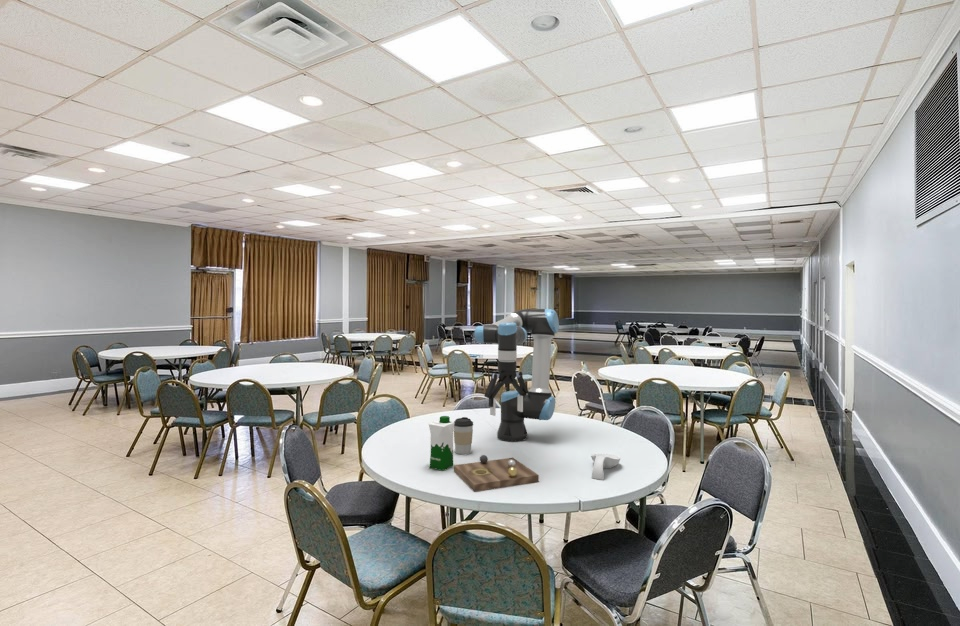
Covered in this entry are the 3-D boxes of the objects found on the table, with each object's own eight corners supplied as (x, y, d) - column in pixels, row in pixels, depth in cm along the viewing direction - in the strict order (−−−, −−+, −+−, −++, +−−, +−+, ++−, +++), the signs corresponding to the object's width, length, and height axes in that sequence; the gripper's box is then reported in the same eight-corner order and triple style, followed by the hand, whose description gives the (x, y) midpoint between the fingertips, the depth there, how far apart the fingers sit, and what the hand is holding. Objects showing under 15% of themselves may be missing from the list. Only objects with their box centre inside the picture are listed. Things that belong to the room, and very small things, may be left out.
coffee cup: (470, 455, 210) (470, 421, 209) (450, 454, 211) (450, 420, 211) (475, 449, 218) (475, 417, 218) (455, 448, 220) (456, 416, 220)
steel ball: (513, 465, 190) (513, 457, 189) (516, 468, 187) (517, 460, 186) (506, 466, 188) (506, 458, 188) (509, 469, 185) (509, 461, 185)
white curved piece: (593, 459, 206) (593, 443, 206) (621, 463, 201) (622, 446, 201) (582, 478, 184) (583, 459, 184) (614, 482, 180) (614, 463, 180)
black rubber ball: (485, 461, 195) (485, 453, 195) (488, 463, 192) (489, 455, 192) (478, 462, 194) (478, 454, 194) (481, 464, 191) (481, 456, 191)
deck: (512, 463, 200) (512, 457, 200) (538, 481, 180) (538, 475, 180) (453, 471, 190) (453, 465, 190) (474, 491, 170) (474, 484, 170)
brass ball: (514, 474, 180) (514, 465, 180) (518, 477, 177) (519, 468, 177) (505, 475, 179) (506, 466, 178) (510, 479, 175) (510, 469, 175)
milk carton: (456, 465, 197) (456, 417, 197) (443, 472, 189) (443, 421, 189) (439, 461, 202) (439, 414, 201) (426, 468, 194) (426, 418, 193)
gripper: (525, 358, 203) (525, 408, 204) (476, 361, 190) (475, 414, 190) (537, 360, 197) (536, 411, 197) (486, 363, 184) (486, 418, 184)
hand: (506, 413), depth 194 cm, fingers open, 13 cm apart
